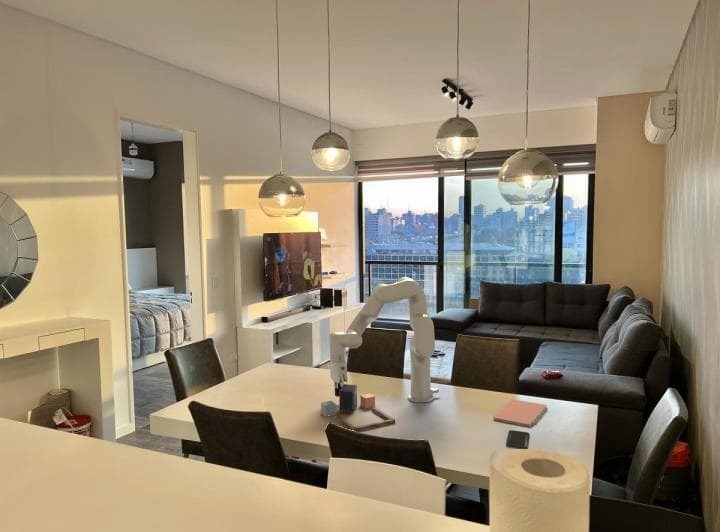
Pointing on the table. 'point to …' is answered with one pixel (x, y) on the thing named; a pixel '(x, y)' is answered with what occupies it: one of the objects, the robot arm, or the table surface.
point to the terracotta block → (367, 400)
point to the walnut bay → (368, 426)
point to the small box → (348, 399)
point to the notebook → (521, 413)
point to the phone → (517, 439)
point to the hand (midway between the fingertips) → (338, 395)
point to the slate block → (328, 408)
